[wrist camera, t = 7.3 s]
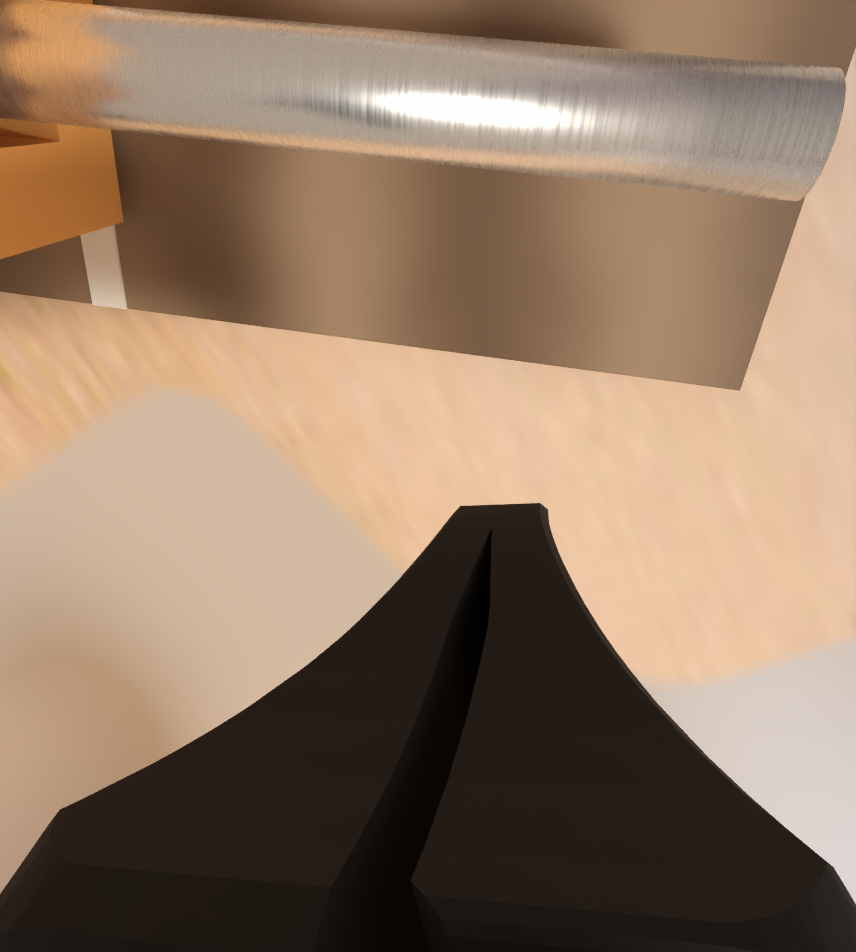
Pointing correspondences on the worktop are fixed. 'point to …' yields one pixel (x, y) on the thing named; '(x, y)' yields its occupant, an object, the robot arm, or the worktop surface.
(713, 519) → the worktop surface
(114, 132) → the rod stand
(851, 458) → the worktop surface
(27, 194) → the collar
